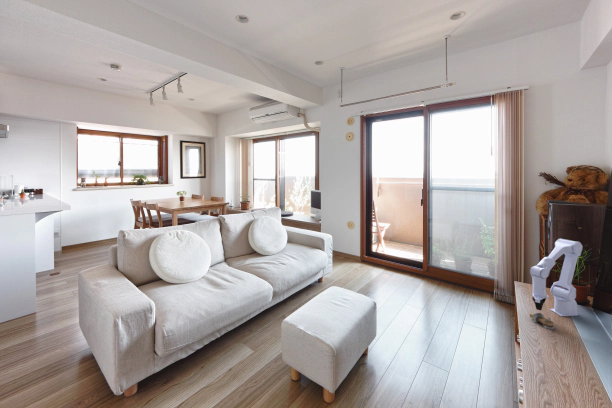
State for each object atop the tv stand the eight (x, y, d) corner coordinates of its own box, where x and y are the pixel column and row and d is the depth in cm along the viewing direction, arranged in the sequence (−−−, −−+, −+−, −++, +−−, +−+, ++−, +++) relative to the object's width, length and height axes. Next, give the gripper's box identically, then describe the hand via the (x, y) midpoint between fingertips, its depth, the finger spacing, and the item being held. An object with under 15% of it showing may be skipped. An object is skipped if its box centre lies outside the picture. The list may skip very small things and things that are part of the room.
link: (555, 326, 144) (555, 319, 144) (549, 327, 144) (549, 321, 143) (534, 315, 155) (534, 309, 155) (529, 316, 155) (529, 310, 154)
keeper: (543, 322, 150) (543, 315, 149) (536, 323, 150) (536, 315, 149) (539, 320, 152) (539, 312, 152) (532, 321, 152) (532, 313, 152)
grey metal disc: (549, 324, 148) (549, 323, 148) (557, 329, 143) (557, 327, 143) (540, 324, 148) (540, 323, 148) (548, 329, 144) (548, 328, 143)
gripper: (547, 293, 144) (547, 317, 146) (549, 284, 154) (549, 306, 155) (530, 290, 149) (530, 313, 151) (533, 281, 159) (533, 303, 161)
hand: (539, 309), depth 153 cm, fingers closed
